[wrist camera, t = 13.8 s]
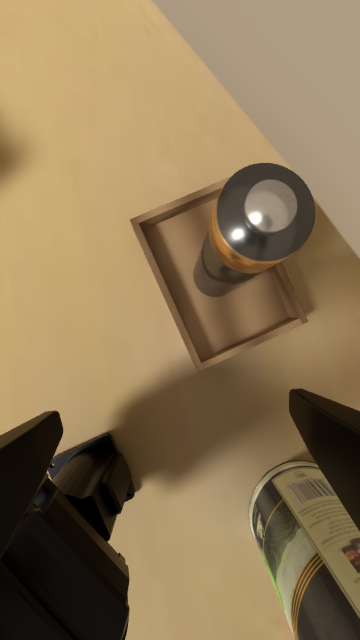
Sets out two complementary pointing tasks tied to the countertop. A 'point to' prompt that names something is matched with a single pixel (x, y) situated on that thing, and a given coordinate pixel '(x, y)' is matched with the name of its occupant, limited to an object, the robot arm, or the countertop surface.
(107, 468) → the robot arm
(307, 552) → the coffee can
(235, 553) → the countertop surface
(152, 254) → the walnut tray
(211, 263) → the battery cell
